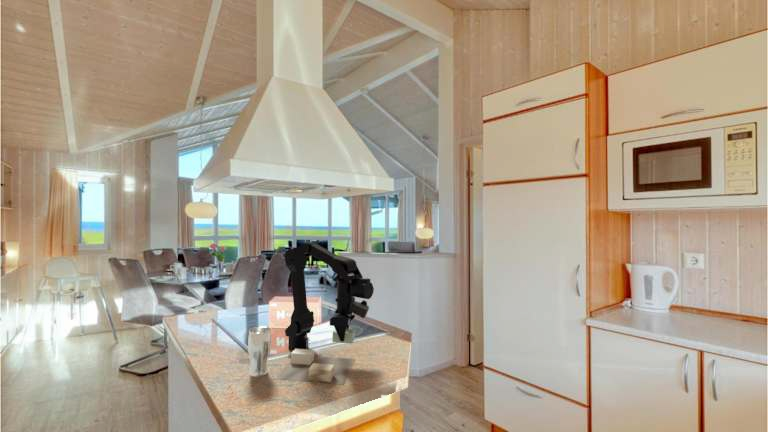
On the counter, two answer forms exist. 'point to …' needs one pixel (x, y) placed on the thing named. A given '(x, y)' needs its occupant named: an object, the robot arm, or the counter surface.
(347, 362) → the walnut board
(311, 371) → the maple base block
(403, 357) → the counter surface
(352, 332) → the sage green block
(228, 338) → the counter surface
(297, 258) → the robot arm
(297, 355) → the cream block
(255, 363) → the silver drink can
